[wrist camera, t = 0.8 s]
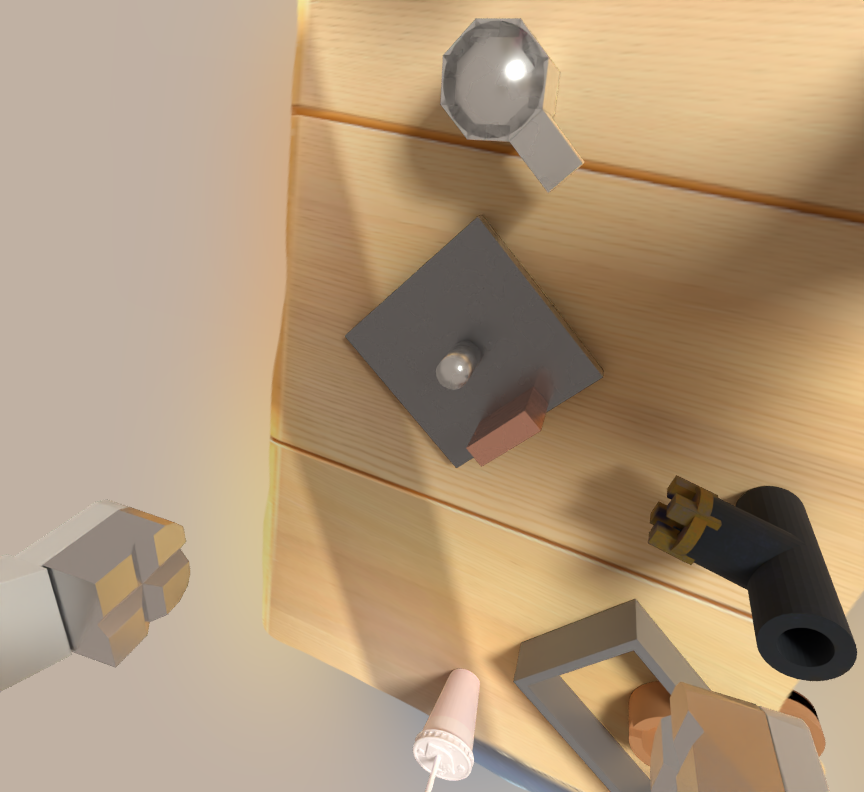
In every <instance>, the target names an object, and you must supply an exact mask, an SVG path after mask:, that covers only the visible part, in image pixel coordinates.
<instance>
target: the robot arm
mask: <svg viewBox="0 0 864 792" xmlns="http://www.w3.org/2000/svg"><path fill="white" fill-rule="evenodd" d="M185 542H186V538H185V534H184V528H183V526H181V525H179V524H177V523H175V522H172V521H169V520H166V519H163V518H160V517H157V516H155V515H152V514H149V513H146V512H143V511H140V510H137V509H134V508H132V507H128V506H125V505H122V504H119V503H116V502H113V501H110V500H103V501H98V502H95V503H93V504H92V505H90V506H89V507H87V508H86V509H84V510H83V511H81V512H80V513H78V514H77V515H75V516H74V517H72V518H71V519H69V520H68V521H67V522H65V523H63V524H62V525H60V526H59V527H57V528H56V529H54V530H53V531H51V532H50V533H49V534H47V535H46V536H44V537H42V538H41V539H40V540H38V541H37V542H35V543H34V544H32V545H31V546H29V547H28V548H26V549H25V550H23V551H22V552H20V553H19V554H17V555H16V556H11V555H8V554H6V555H2V556H0V692H1V691H3V690H5V689H7V688H9V687H11V686H13V685H14V684H17V683H18V682H20V681H22V680H24V679H26V678H28V677H30V676H32V675H34V674H36V673H38V672H40V671H42V670H44V669H46V668H48V667H50V666H51V665H53V664H55V663H57V662H59V661H61V660H63V659H65V658H67V657H69V656H70V655H72V652H74V653H77V654H80V655H82V656H85V657H88V658H91V659H93V660H96V661H99V662H102V663H104V664H107V665H110V666H113V667H117V666H118V665H119V664H120V663H121V662H122V661H123V660H124V659H125V658H126V656H128V655H129V653H131V651H132V650H133V649H134V648H135V647H136V646H137V645H138V644H139V643H140V642H141V641H142V640H143V639H144V638H145V637H146V636H147V634H148V629H149V623H150V622H151V621H153V620H156V619H158V618H160V617H163V616H165V615H167V614H168V613H169V612H170V611H171V610H172V609H173V608H174V607H175V606H176V605H177V604H178V602H179V601H180V599H181V598H182V596H183V594H184V592H185V590H186V588H187V586H188V582H189V577H190V566H189V561H188V559H187V558H186V557H185V555H184V554H183V552H182V551H181V549H180V548H181V547H182V546H183V545H184V544H185ZM670 708H671V715H669V716H666V717H664V718H662V719H661V720H660V722H659V725H658V727H657V730H656V733H655V736H654V741H653V746H652V752H651V765H650V783H651V792H830V790H829V787H828V784H827V781H826V778H825V775H824V772H823V769H822V766H821V763H820V760H819V757H818V754H817V751H816V748H815V745H814V742H813V739H812V736H811V732H810V729H809V727H808V726H807V725H806V723H805V722H804V721H803V720H802V719H800V718H797V717H794V716H790V715H787V714H784V713H781V712H777V711H774V710H771V709H768V708H765V707H761V706H757V705H756V704H753V703H750V702H746V701H743V700H740V699H737V698H733V697H730V696H727V695H723V694H720V693H717V692H713V691H710V690H707V689H704V688H700V687H697V686H694V685H690V684H687V683H684V682H679V683H678V684H677V685H676V686H675V688H674V690H673V692H672V694H671V697H670Z"/></svg>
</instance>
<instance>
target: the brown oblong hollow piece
mask: <svg viewBox="0 0 864 792" xmlns="http://www.w3.org/2000/svg"><path fill="white" fill-rule="evenodd" d="M670 697H671V694H670V693H669V692H668V691H667V690H666V688H665V687H664V686H663V685H662V684H661V682H660V681H655V682H649V683H646V684H644V685H641V686H640V687H638V688H637V689H635V690H634V691H633V693H632V694H631V696H630V699H629V743H630V747H631V749H632V751H633V752H634V754H635V755H636V756H637V757H638V758H639V759H640V760H641V761H642V762H644V763H645V764H646V765H648V766H650V765H651V752H652V746H653V741H654V736H655V733H656V730H657V727H658V725H659V722H660V720H661V719H662V718H664V717H666V716H669V715H671V708H670ZM779 712H781V713H784V714H787V715H790V716H794V717H797V718H800V719H802V720H803V721H804V722H805V723H806V725H807V726H808V727H809V729H810V732H811V736H812V739H813V742H814V745H815V748H816V751H817V754H818V757H820V756H821V754H822V753H823V751H824V749H825V745H826V742H825V737H824V734H823V731H822V728H821V725H820V722H819V719H818V716H817V713H816V710H815V708H814V706H813V705H812V703H811V702H810V701H809V700H808V699H807V698H806V697H805V696H803V695H802V694H800V693H799V692H797V691H795V690H792V691H791V692H790V694H789V695H788V697H787V698H786V699H785V701H784V703H783V704H782V706H781V708H780V710H779Z"/></svg>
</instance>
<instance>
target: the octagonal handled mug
mask: <svg viewBox="0 0 864 792" xmlns="http://www.w3.org/2000/svg"><path fill="white" fill-rule="evenodd" d="M559 79H560V71H559V69H558V68H557V67H556V66H555V64H554V63H553V62H552V60H551V59H550V58H549V56H548V55H547V53H546V52H545V51H544V49H543V48H542V47H541V45H540V44H539V42H538V41H537V39H536V38H535V37H534V35H533V34H532V32H531V31H530V30H529V28H528V27H527V26H526V24H525V23H524V22H523V20H522V19H521V18H520V19H475V20H474V21H473V22H472V23H471V25H470V26H469V27H468V28H467V29H466V30H465V31H464V32H463V34H462V35H461V36H460V37H459V38H458V39H457V40H456V41H455V43H454V44H453V45H452V46H451V47H450V48H449V49H448V50H447V52H446V53H445V54H444V55H443V67H442V86H441V104H440V105H441V106H442V107H443V108H444V110H445V111H446V112H447V114H448V115H449V116H450V118H451V119H452V120H453V121H454V123H455V124H456V125H457V127H458V128H459V129H460V131H461V132H462V133H463V135H464V136H465V137H466V138H467V139H468V140H482V141H501V142H510V143H511V144H512V146H513V147H514V148H515V150H516V151H517V152H518V154H519V155H520V156H521V158H522V159H523V160H524V162H525V163H526V164H527V166H528V167H529V168H530V170H531V171H532V172H533V174H534V175H535V176H536V177H537V179H538V180H539V181H540V183H541V184H542V185H543V187H544V188H545V189H546V191H547V192H548V193H549V192H550V191H552V190H553V189H554V188H556V187H557V186H558V185H559V184H560V183H562V182H563V181H564V180H565V179H566V178H567V177H569V176H570V175H571V174H572V173H573V172H574V171H576V170H577V169H578V168H579V167H580V166H581V165H583V164H584V163H585V162H584V161H583V159H582V158H581V157H580V155H579V154H578V153H577V151H576V150H575V148H574V147H573V146H572V144H571V143H570V142H569V140H568V139H567V138H566V136H565V135H564V134H563V132H562V131H561V130H560V128H559V127H558V125H557V124H556V123H555V121H554V120H553V119H552V117H553V116H555V109H556V101H557V94H558V86H559Z"/></svg>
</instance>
